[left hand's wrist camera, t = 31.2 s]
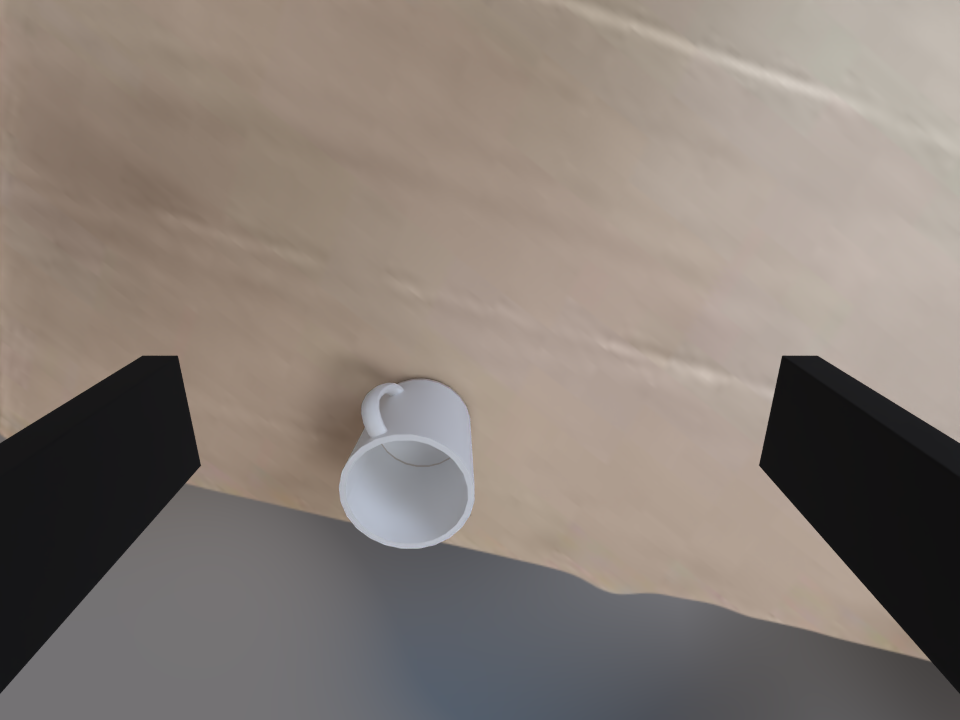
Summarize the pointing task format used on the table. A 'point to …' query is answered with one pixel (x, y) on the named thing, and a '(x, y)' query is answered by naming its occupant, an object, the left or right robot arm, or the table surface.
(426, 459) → the mug
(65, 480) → the left robot arm
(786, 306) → the table surface
